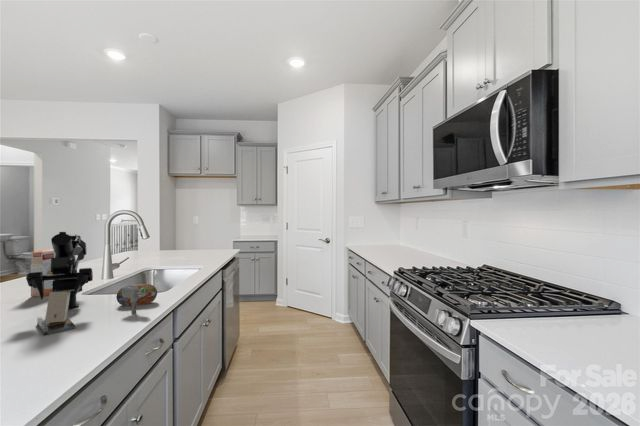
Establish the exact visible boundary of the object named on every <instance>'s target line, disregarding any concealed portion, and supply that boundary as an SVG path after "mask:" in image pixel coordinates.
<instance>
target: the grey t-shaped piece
mask: <svg viewBox="0 0 640 426" xmlns="http://www.w3.org/2000/svg"><path fill="white" fill-rule="evenodd" d="M125 286H126V287H125ZM125 286H123V287H121V288H120V289H121V291H122V296H123V297H126V298H130V302H131V303H132V306H131V314H135V313H137V305H136V301H138V300H137V298H141V297H144V296H145V295H146V291H147V290H146V289H145V288H141V289H138V287H134V286H131V285H125ZM138 294H140V295H138Z"/></svg>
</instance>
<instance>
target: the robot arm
mask: <svg viewBox="0 0 640 426" xmlns="http://www.w3.org/2000/svg"><path fill="white" fill-rule="evenodd" d="M81 237H82V236H81V235H78V234H67V232H66V231H59V232H58V234H55V235H54V236H52V237H51V239H50V240H51V246H52V249H53V250H54V252H55V253H56V254H55V258H51V272H52V274H49V275H43V273H42V271H41V272H31V271H29V272H28V273H27V274H26V276H25V279H26V280H25V281H26V282H27V285H28V287H30V288H31V287H33V288H37V289H38V291H39V294H40V297H39V298H40V300H43V298H44V297H45V296H44V281H45V280H53V284H52V286H53V292H63V291H70V298H69V305H68V310H70V309H74V308H79V307H80V305H79V304H78V303H77V294H78V293H80V292H82V291H83V286H85V284H88V283H89V282H92V281H93V279H94V272H93V268H91V267H84V268H81V267H80V268H79V267H78V266H79V263H80V261H82V260H84V258H85V257H86V255H87V243H86V242H85V241H84V240H82V239H81ZM78 268H79V269H78Z"/></svg>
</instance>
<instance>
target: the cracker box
mask: <svg viewBox="0 0 640 426" xmlns="http://www.w3.org/2000/svg"><path fill="white" fill-rule="evenodd" d="M55 254H56V253H55V252H54V250H53V248H52V249H51V248H50V249H45V250H43V249H42V250H37V251H36V250H35V251H32V252H31V257H30V259H31V260H30V267H31V268H30V272H41V271H42V273H43V275H49V274H52V272H51V258H55ZM52 284H53V280H45V281H44V297H47V296H49V292H53V286H52ZM30 297H31V298H32V297H34V298H36V297H37V298H38V297H39V298H41V297H40V294H39V291H38V289H37V288H33V287H30Z"/></svg>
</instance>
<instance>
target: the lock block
mask: <svg viewBox="0 0 640 426" xmlns="http://www.w3.org/2000/svg"><path fill="white" fill-rule="evenodd" d="M69 298H70V291H63V292H49V295H48V300H47V301H48V302H47V306H46V314H45V319H44V320H45V323H49V322H63V321H66V320H67V317H68V313H69V309H68V305H69Z"/></svg>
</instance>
